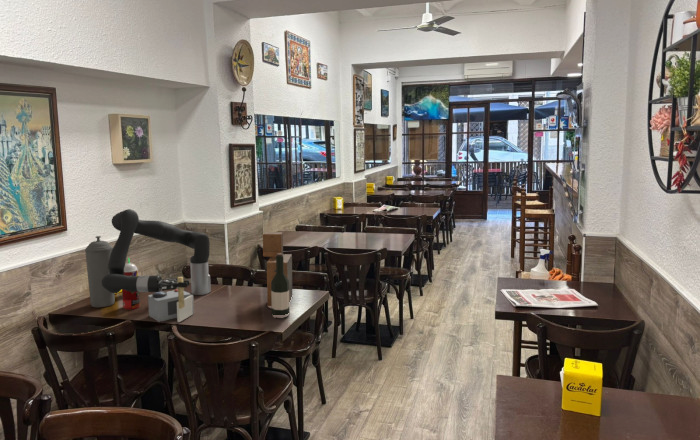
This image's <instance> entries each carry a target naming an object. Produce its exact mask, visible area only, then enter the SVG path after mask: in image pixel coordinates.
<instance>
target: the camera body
mask: <svg viewBox="0 0 700 440" xmlns="http://www.w3.org/2000/svg"><path fill="white" fill-rule="evenodd" d="M190 295H192V293H190V292H188V291H185V290H184V299H185V298H186V297H188V296H190ZM178 301H179V300H178V288H176V289H172V290H167V291H166V290H164V291H162V290H161V291H160V292H152V293H151V294H149V295H147V303H148V304H147V305H148V316H149V317H150V318H152V319H154V320H155V321H157V322H158V323H160V321H161V322H165V321H168V320H173V319H177V302H178Z"/></svg>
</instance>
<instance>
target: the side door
mask: <svg viewBox="0 0 700 440" xmlns="http://www.w3.org/2000/svg"><path fill="white" fill-rule="evenodd" d="M177 278H178V283H179V282H183V280H184V277H183V276H178V277H177ZM177 289H178V300H179V301H178V302H177V318H176V319H177V320H176V321H177V323H180V322H182V321H184V320H186V319H187V318H189V317H191V316H192V315H195V309H194V308H195V307H194V294H191V295H190V296H188V297H186V298H185V299H184V291H185V287H179V288H177Z"/></svg>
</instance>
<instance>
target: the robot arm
mask: <svg viewBox="0 0 700 440" xmlns="http://www.w3.org/2000/svg"><path fill="white" fill-rule="evenodd" d="M111 224H112V227H113V228H114V229H116V230H117V231H119V235H118V238H117V240H116V242H115V243H114V246H112V247H113V249H112V251H111V254H110V258H109V263H108V269H109V272H110V274H109V275H106V276H105V277H104V278H103V279H102V282H101V283H102V286H103V287H104V288H105V289H106V290H108V291H109V292H110V293H114V294H118V293H120V292H122V289H123V290H126V291H130V292H139V293H154V292H160V291H173V290H175V289H178V288H179V287H184V288H187V287H189V286H190V287H191V291H190V292H191V295H193V296H203V295H207V294H209V293H211V291H212V289H211V287H212V286H211V274H209V273H210V271H209V257H210V249H211V248H210V247H211V245H210V244H211V243H210V238H209V236H208V235H207V234H206V233H205V232H198V231H190V230H184V229H181V228H179V227H177V226H176V225H174V224H170V223H169V222H166V221H165V222H164V221H161V220H146V219H145V220H143V219H139V214H138V213H137V212H136V211H135V210H134V209H125V210H124V209H123V210H122V211H120V212H117V213H116V214H114V216H112V217H111ZM134 234H136V235H137V234H138V235H141V236H144V237H148V238H151V239H155V240H159V241H163V242H166V243H178V244H180V245H183V246H185V247H188V248H190V249H193V251H194V252H193V255H192V256H191V257H189V258H190V259H189V260H190V262H189V263H190V264H189V265H190V280H184V279H183V282H179V283H178V277H172V276H171V277H170V278H165V279H163V278H162V275H157V274H156V275H149V274H148V275H138V276H126V275H124V267H125V264H127V263H126V262H127V259H128V258H127V256H128V253H129V249H130V245H131V244H132V243H131V242H132V240H133V237H134ZM190 284H191V285H190Z"/></svg>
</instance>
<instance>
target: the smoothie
mask: <svg viewBox="0 0 700 440" xmlns="http://www.w3.org/2000/svg"><path fill="white" fill-rule="evenodd" d="M127 259H128V263H125V267H124V275H126V276H139V273H138V270H139V268H138V267H137V265H136V264H135V263H131V260H130V257H128V258H127Z"/></svg>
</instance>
